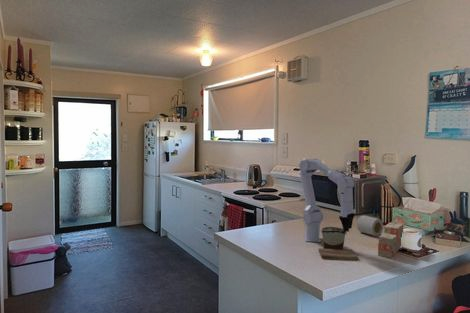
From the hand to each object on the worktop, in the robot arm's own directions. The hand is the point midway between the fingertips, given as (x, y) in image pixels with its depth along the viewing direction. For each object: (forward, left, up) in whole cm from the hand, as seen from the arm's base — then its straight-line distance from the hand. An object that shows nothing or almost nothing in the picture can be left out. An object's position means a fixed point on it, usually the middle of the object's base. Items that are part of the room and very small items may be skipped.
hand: (347, 229), depth 162 cm
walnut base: (+5, -6, -11) cm, 14 cm away
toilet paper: (-33, +21, -11) cm, 41 cm away
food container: (-6, -6, -11) cm, 14 cm away
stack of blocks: (-4, +22, -12) cm, 25 cm away
